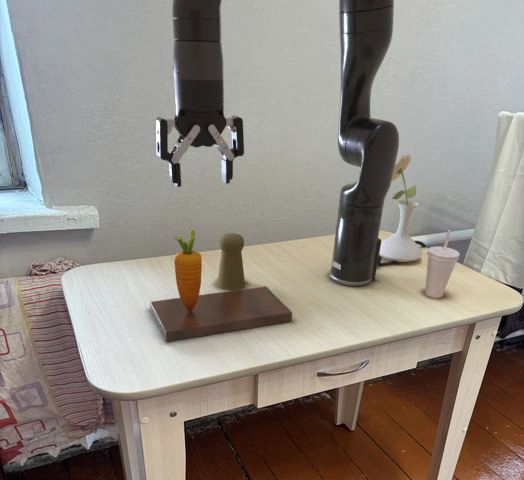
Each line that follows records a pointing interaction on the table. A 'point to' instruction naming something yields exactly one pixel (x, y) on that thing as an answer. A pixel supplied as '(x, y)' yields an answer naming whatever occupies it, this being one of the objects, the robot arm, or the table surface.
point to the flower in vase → (402, 223)
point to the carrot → (188, 272)
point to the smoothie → (439, 268)
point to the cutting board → (219, 313)
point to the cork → (231, 262)
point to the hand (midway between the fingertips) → (202, 184)
